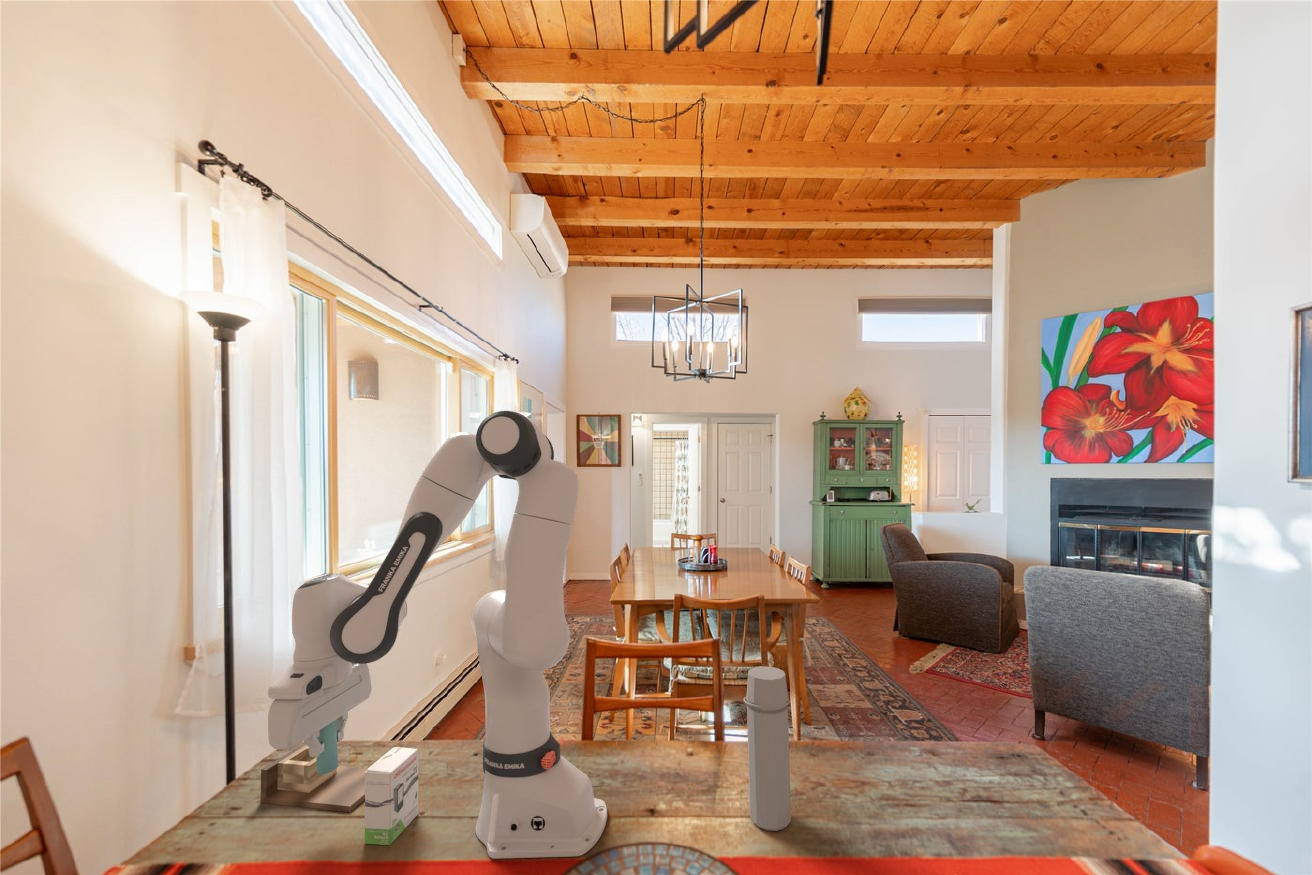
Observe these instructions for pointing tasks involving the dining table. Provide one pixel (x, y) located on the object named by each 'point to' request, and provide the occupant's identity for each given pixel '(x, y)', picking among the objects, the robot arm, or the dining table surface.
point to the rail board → (317, 789)
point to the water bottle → (768, 748)
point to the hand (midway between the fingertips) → (327, 747)
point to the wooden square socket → (300, 772)
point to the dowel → (328, 749)
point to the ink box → (391, 795)
